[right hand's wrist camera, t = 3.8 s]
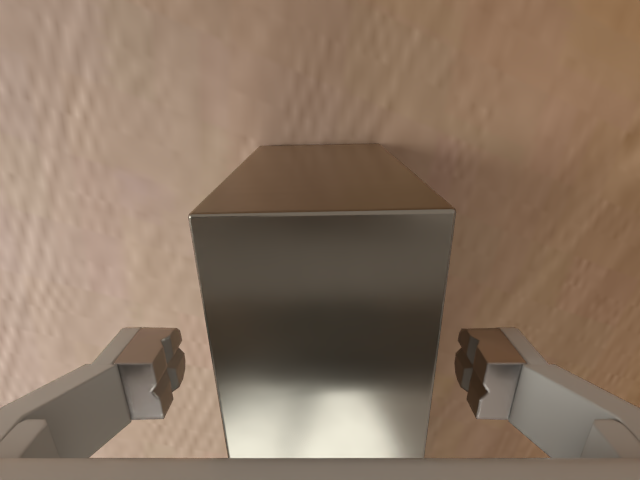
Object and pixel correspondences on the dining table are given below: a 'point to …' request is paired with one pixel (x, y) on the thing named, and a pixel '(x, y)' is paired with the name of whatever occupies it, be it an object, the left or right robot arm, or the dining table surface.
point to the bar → (323, 301)
